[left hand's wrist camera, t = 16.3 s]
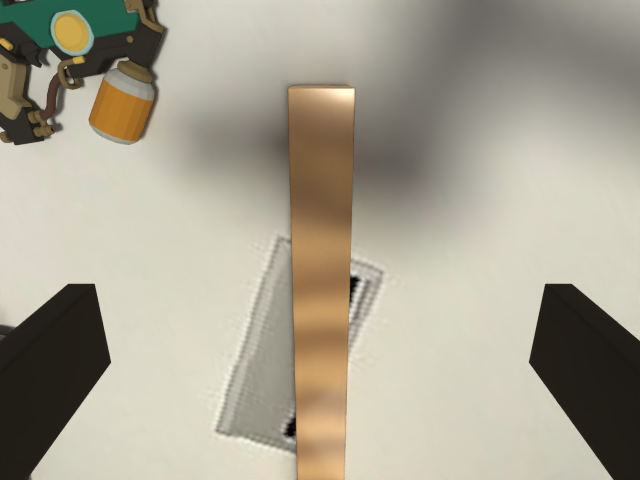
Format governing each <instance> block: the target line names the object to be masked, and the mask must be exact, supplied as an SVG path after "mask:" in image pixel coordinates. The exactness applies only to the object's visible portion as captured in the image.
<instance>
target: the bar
mask: <svg viewBox="0 0 640 480" xmlns="http://www.w3.org/2000/svg"><path fill="white" fill-rule="evenodd" d="M354 114H355V88H353V87H351V86H349V85H294V86H292V87H289V88H288V120H289V159H290V199H291V239H292V278H293V318H294V358H295V397H296V437H297V477H298V480H344V475H345V439H346V403H347V367H348V330H349V294H350V258H351V222H352V186H353V150H354Z"/></svg>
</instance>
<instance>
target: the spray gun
mask: <svg viewBox="0 0 640 480" xmlns="http://www.w3.org/2000/svg"><path fill="white" fill-rule="evenodd" d="M153 3H154V0H25V1H20V2H16V3H15V0H0V127H1V128H3V129H4V130H5V131H4V132H1V133H0V139H1V140H2V141H3V142H4V143H12V142H14V145H21V144H28V143H34V142H40V141H44V140H45V139H44V137H43V135H44V136H49V135H52V134H54V132H55V129H54V127H53V126H51V125H48V124H47V119H48V118H50V117H51V116H52V115H53V114H54V112H55V109H56V96H57V91H58V88H59V86H60V83H62V85H63V86H64V87H65V88H68V89H72V90H73V89H78V88H79V87H80V80H79V78H82V77H87V76H92V75H98V74H101V73H102V71H103V70H104V68H105V67H106V66H107V64H108V63H109V61H110V60H111V59H116V58H121V57H127V56H128V58H129V60H128V61H119V62H118V65H117V67H118V68H115V69H112V70H109V71H108V72H107V73H106V74H105V76H104V77H103V80H102V83H101V86H100V88H99V91H98V94H97V97H96V100H95V102H94V105H93V108H92V111H91V114H90V116H89V124H90V126H91V127H92V128H93V130H94V131H95V132H96V133H97V134H99V135H100V136H102V137H104V138H106V139H108V140H110V141H113V142H116V143H120V144H126V145H130V144H133V143H136V142H137V141H138V140H139V139H140V137H141V134H142V131H143V128H144V126H145V123H146V120H147V117H148V115H149V112H150V109H151V106H152V104H153V101H154V90H153V88H152V85H151V84H150V83H151V82H152V79H153V76H152V75H151V74H150V73H149V72H148V70H147V68H146V67H147V66H148V65H149V64H150V62H151V60H152V58H153V55H154V53H155V51H156V48H157V46H158V44H159V41H160V39H161V37H162V34H161V33H163V30H164V28H163V27H162V26H161V25H159V24H157V23H156V22H155V19H154V15H153V11H152V7H151V6H152V5H153ZM145 13H148V16H149V20H148V19H147V17H146V14H145ZM42 48H45V49H50V50H51V51H52V52H53V53H54V54H55V55H56V56H57V57H58V58H59V59H60V60H61V61H62V62H60V63H59V65H58V73H57V74H56V75H54V76H53V78H52V80H51V82H50V84H49V88H48V93H47V105H46V109H45V110H36V111H34V108H33V107H32V106H31V104H30V103H29V102H28V101H27V100H25V99H24V98H23V97H22V95H23V88H24V82H25V76H26V65H29V64H33V65H35V66H37V67H40V68H41V66H42V64H41V63H40V62H39V59H38V55H39V53H40V50H41V49H42ZM25 64H26V65H25ZM66 66H67V69H64V67H66ZM68 77H71V78H73V80H74V84H70V83H68V82H67V80H66V78H68ZM39 122H40V123H41V127H40V125H39Z"/></svg>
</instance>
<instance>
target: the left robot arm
mask: <svg viewBox="0 0 640 480" xmlns="http://www.w3.org/2000/svg"><path fill="white" fill-rule="evenodd" d="M110 363H111V360H110V355H109V350H108V345H107V340H106V336H105V331H104V326H103V321H102V316H101V312H100V307H99V302H98V297H97V293H96V288H95V284H68V285H66V286H65V287H64V288H63V289H62V290H60V291H59V292H58V293H57V294H56V295H54V296H53V297H52V298H51V299H50V300H48V301H47V302H46V303H45V304H44V305H42V306H41V307H40V308H39V309H38V310H37V311H35V312H34V313H33V314H32V315H31V316H29V317H28V318H27V319H26V320H25V321H23V322H22V323H21V324H20V325H19V326H17V327H16V328H15V329H14V330H13V331H11V332H10V333H9V334H8V335H7V336H5V337H4V338H3V339H2V340H1V341H0V480H27V478H28V477H29V476H30V474H31V473H32V471H33V470H34V469H35V467H36V466H37V465H38V463H39V462H40V460H41V459H42V458H43V456H44V455H45V453H46V452H47V451H48V449H49V448H50V446H51V445H52V444H53V442H54V441H55V440H56V438H57V437H58V435H59V434H60V433H61V431H62V430H63V428H64V427H65V426H66V424H67V423H68V422H69V420H70V419H71V417H72V416H73V415H74V413H75V412H76V410H77V409H78V408H79V406H80V405H81V404H82V402H83V401H84V399H85V398H86V397H87V395H88V394H89V392H90V391H91V390H92V388H93V387H94V386H95V384H96V383H97V381H98V380H99V379H100V377H101V376H102V374H103V373H104V372H105V370H106V369H107V367H108V366H109V365H110ZM529 363H530V365H531V366H532V367H533V369H534V370H535V372H536V373H537V374H538V376H539V377H540V379H541V380H542V381H543V383H544V384H545V386H546V387H547V388H548V390H549V391H550V392H551V394H552V395H553V397H554V398H555V399H556V401H557V402H558V404H559V405H560V406H561V408H562V409H563V410H564V412H565V413H566V415H567V416H568V417H569V419H570V420H571V422H572V423H573V424H574V426H575V427H576V428H577V430H578V431H579V433H580V434H581V435H582V437H583V438H584V440H585V441H586V442H587V444H588V445H589V446H590V448H591V449H592V451H593V452H594V453H595V455H596V456H597V458H598V459H599V460H600V462H601V463H602V465H603V466H604V467H605V469H606V470H607V471H608V473H609V474H610V476H611V477H612V478H613V480H640V341H639V340H638V339H637V338H636V337H635V336H633V335H632V334H631V333H630V332H629V331H627V330H626V329H625V328H624V327H623V326H621V325H620V324H619V323H618V322H617V321H615V320H614V319H613V318H612V317H611V316H609V315H608V314H607V313H606V312H605V311H603V310H602V309H601V308H600V307H599V306H598V305H596V304H595V303H594V302H593V301H592V300H590V299H589V298H588V297H587V296H586V295H584V294H583V293H582V292H581V291H580V290H578V289H577V288H576V287H575V286H574V285H572V284H545V288H544V293H543V297H542V302H541V307H540V312H539V316H538V321H537V326H536V331H535V336H534V340H533V345H532V350H531V355H530V360H529Z"/></svg>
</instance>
